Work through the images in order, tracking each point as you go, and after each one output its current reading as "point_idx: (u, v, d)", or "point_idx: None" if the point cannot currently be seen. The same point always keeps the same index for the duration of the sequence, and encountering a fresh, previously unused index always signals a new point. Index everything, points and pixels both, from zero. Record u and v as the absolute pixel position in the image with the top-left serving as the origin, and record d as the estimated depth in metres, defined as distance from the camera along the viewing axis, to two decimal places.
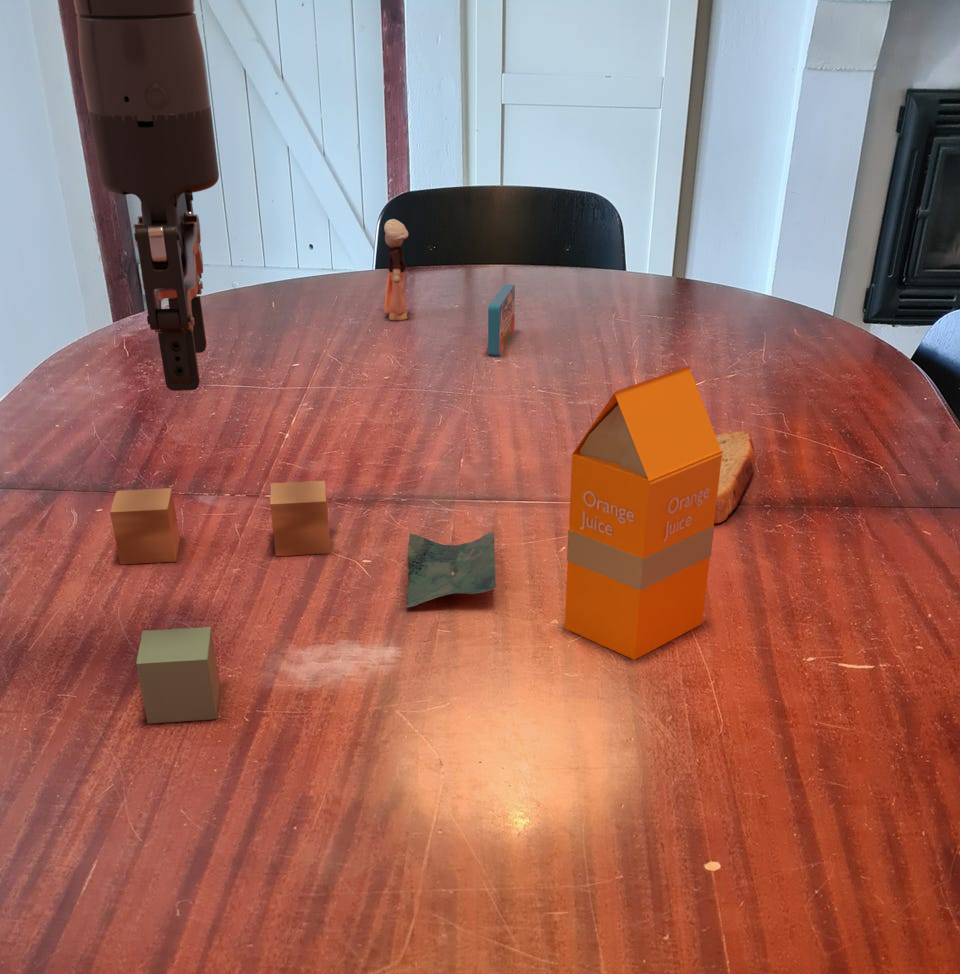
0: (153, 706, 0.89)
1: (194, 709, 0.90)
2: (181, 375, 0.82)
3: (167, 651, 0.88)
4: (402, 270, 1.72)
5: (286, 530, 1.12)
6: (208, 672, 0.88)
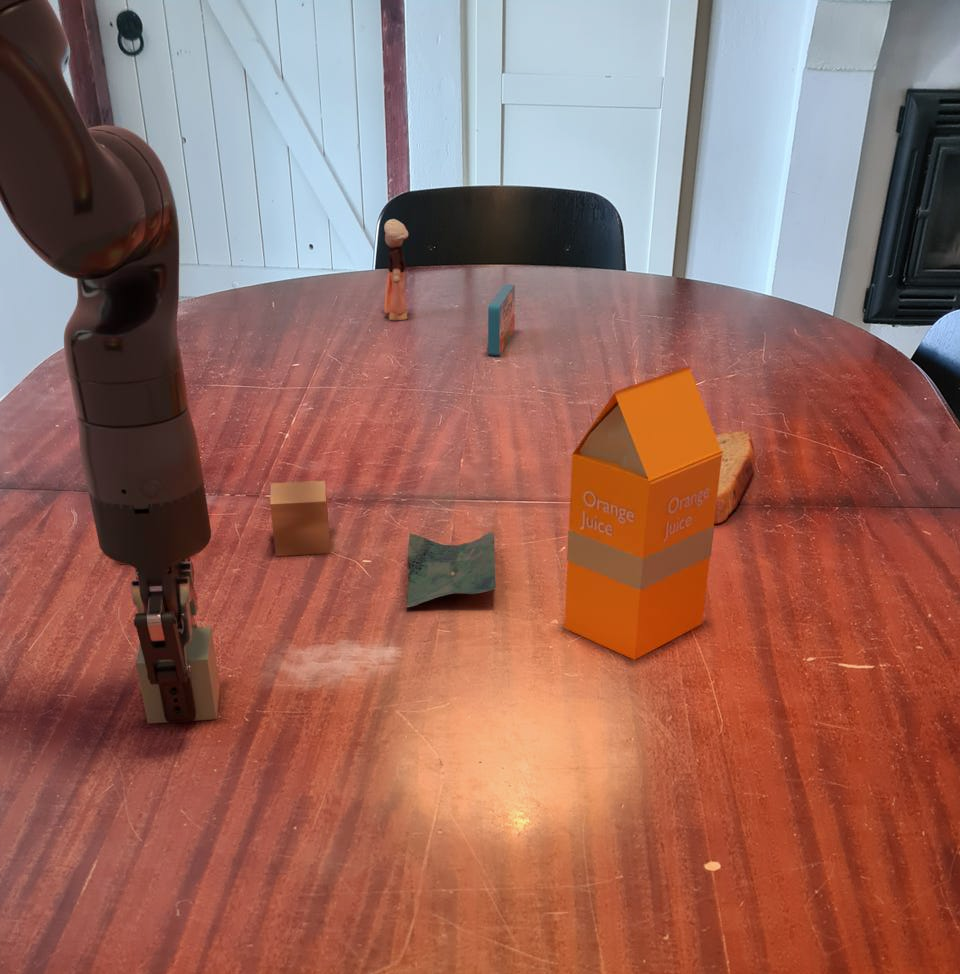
0: (153, 706, 0.89)
1: None
2: (179, 712, 0.89)
3: None
4: (402, 270, 1.72)
5: (286, 530, 1.12)
6: (208, 672, 0.88)
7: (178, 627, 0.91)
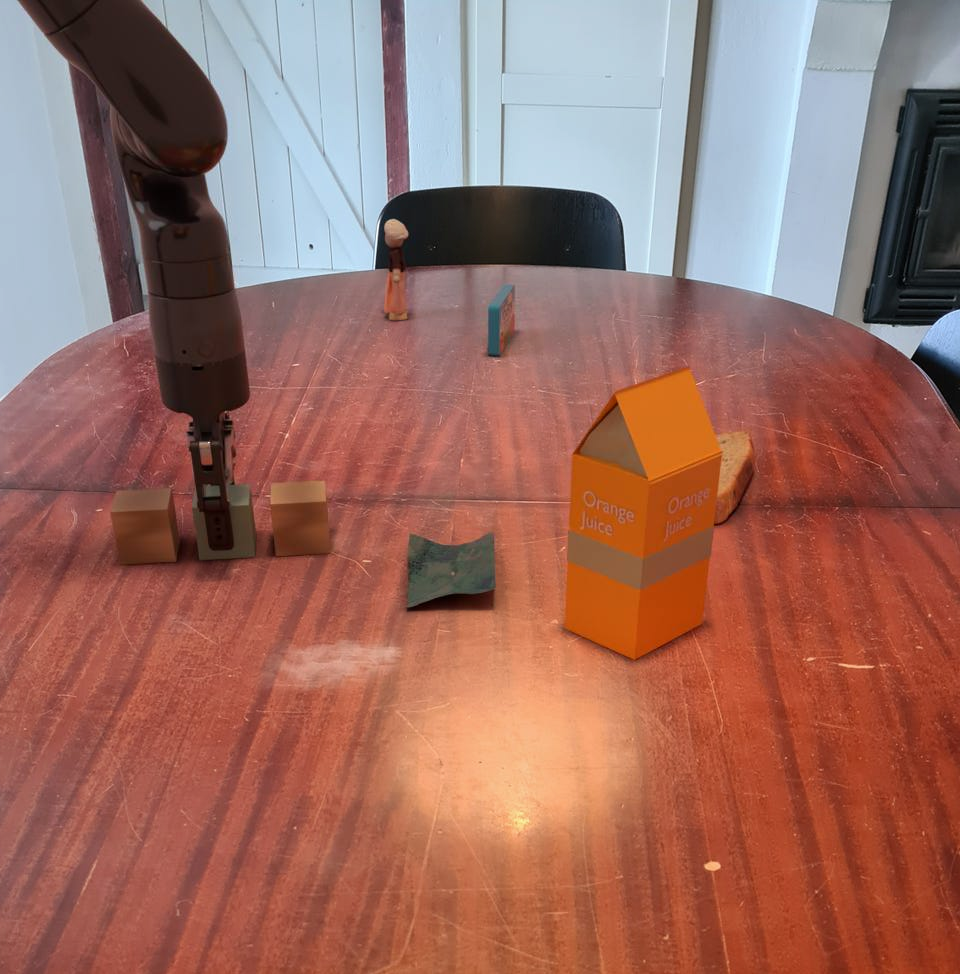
0: (204, 545, 1.12)
1: (237, 548, 1.12)
2: (220, 540, 1.09)
3: None
4: (402, 270, 1.72)
5: (286, 530, 1.12)
6: (249, 516, 1.10)
7: None
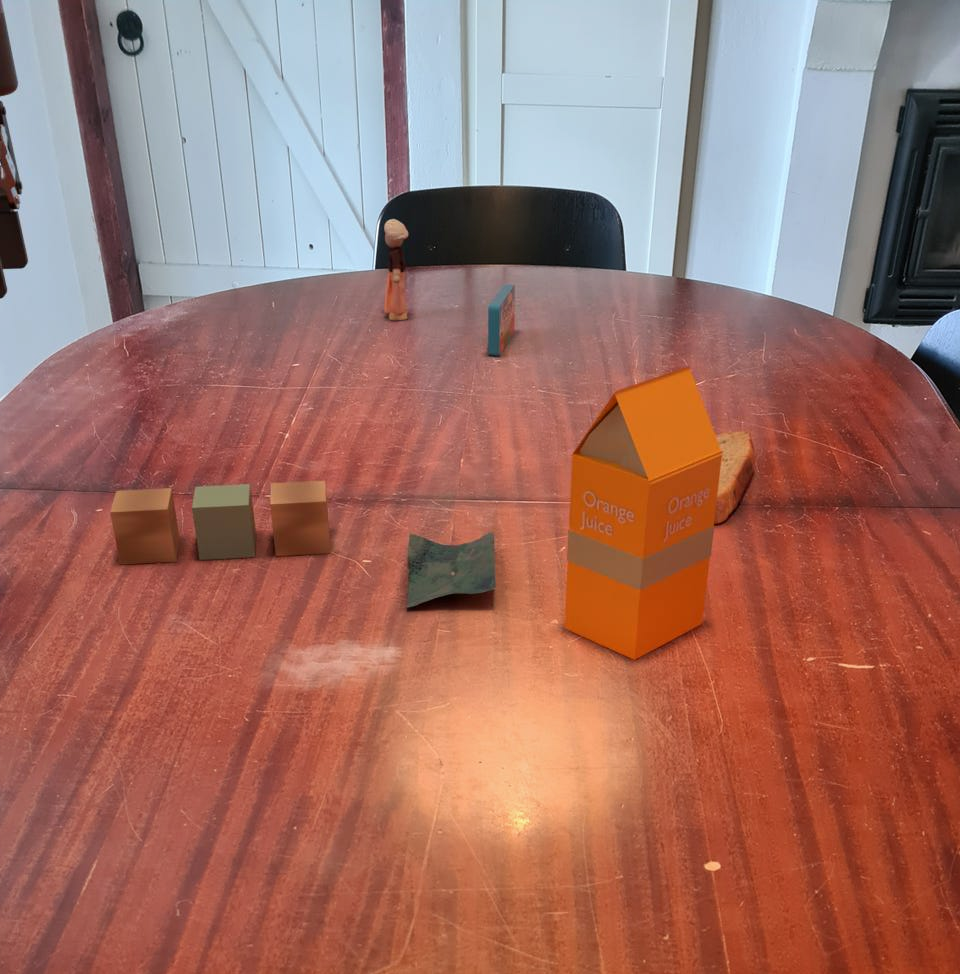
0: (204, 545, 1.12)
1: (237, 548, 1.12)
2: None
3: (216, 499, 1.11)
4: (402, 270, 1.72)
5: (286, 530, 1.12)
6: (249, 516, 1.10)
7: None
